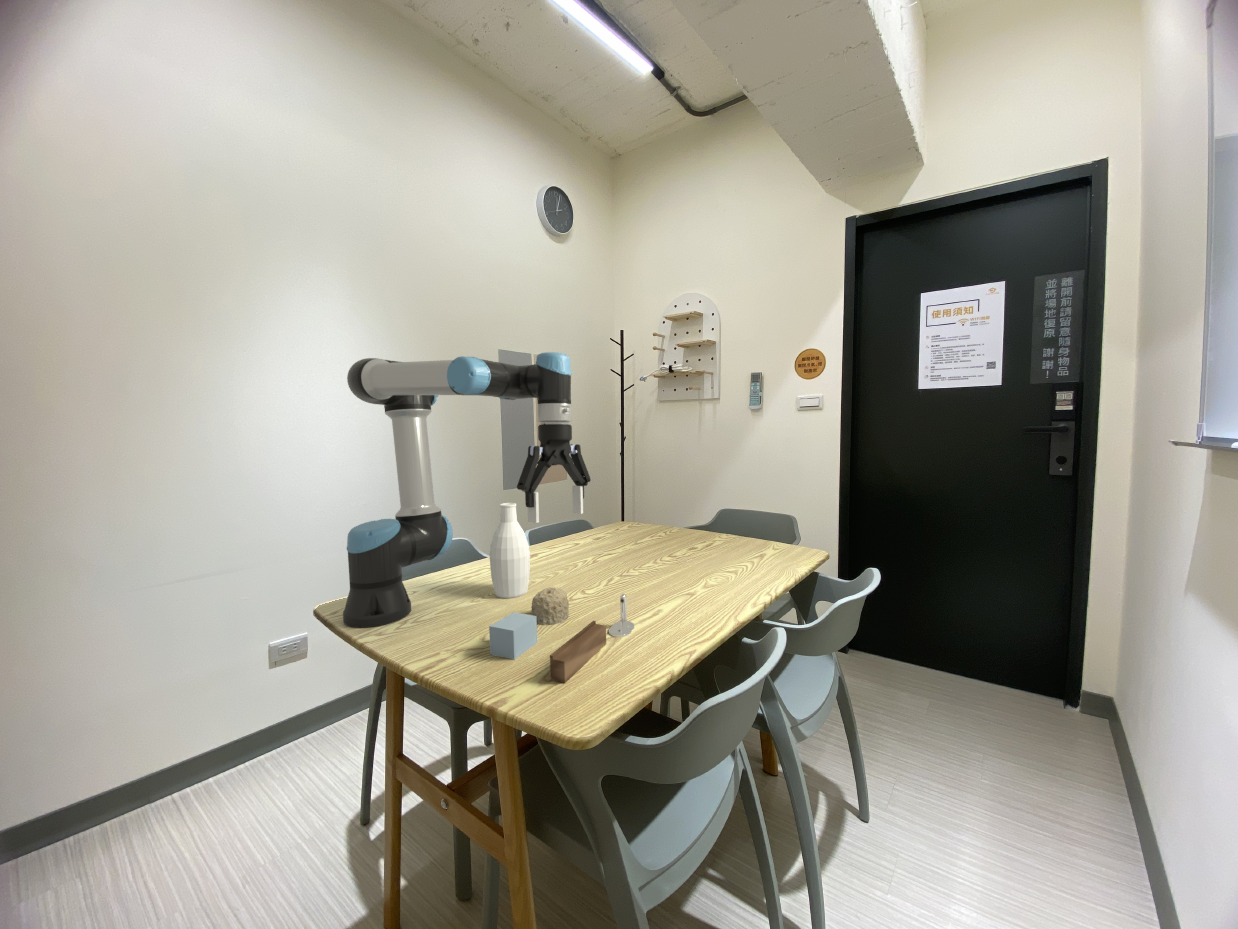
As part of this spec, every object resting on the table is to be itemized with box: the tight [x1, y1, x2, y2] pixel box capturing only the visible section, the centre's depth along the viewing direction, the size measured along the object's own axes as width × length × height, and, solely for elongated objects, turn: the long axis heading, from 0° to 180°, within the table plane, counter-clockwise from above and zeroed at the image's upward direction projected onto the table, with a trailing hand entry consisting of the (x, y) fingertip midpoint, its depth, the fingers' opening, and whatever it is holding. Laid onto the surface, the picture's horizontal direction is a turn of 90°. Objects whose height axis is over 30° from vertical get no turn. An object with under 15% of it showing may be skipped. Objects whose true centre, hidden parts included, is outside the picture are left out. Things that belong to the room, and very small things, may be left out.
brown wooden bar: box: [549, 620, 607, 684], centre depth 92 cm, size 3×17×5 cm, turn 156°
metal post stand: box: [608, 593, 635, 638], centre depth 106 cm, size 8×5×8 cm
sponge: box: [530, 586, 570, 626], centre depth 114 cm, size 9×10×10 cm
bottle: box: [489, 502, 531, 599], centre depth 132 cm, size 11×11×25 cm
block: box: [488, 612, 538, 660], centre depth 98 cm, size 6×8×6 cm
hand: (556, 517), depth 107 cm, fingers open, 13 cm apart
